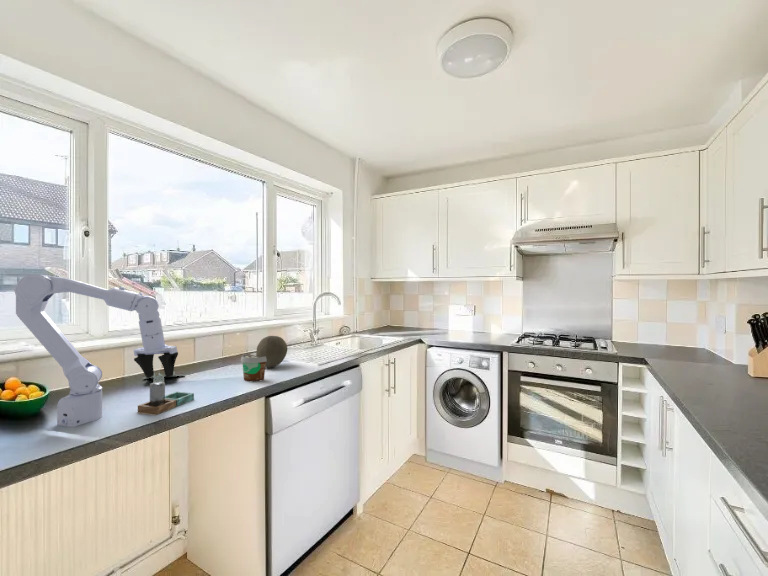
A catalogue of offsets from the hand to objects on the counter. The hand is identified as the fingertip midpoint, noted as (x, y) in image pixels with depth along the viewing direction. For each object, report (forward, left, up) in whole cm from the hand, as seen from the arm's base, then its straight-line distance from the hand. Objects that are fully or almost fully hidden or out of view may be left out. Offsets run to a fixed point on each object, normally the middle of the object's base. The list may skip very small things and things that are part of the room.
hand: (159, 376), depth 112 cm
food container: (+39, -6, -11) cm, 41 cm away
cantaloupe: (+62, -2, -11) cm, 63 cm away
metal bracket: (+28, +28, -12) cm, 41 cm away
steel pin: (-1, -1, -10) cm, 10 cm away
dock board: (+2, -1, -11) cm, 11 cm away
